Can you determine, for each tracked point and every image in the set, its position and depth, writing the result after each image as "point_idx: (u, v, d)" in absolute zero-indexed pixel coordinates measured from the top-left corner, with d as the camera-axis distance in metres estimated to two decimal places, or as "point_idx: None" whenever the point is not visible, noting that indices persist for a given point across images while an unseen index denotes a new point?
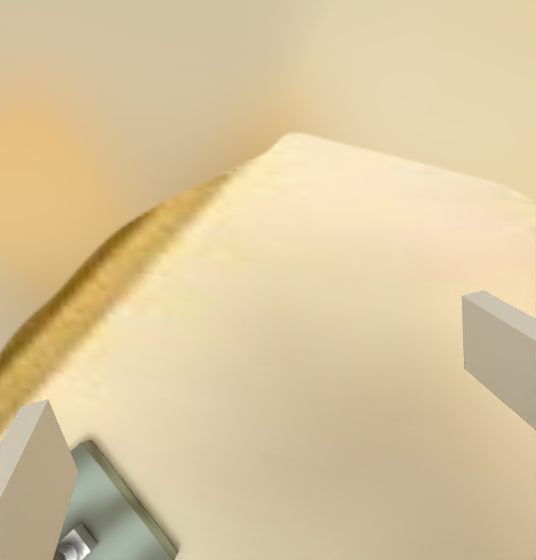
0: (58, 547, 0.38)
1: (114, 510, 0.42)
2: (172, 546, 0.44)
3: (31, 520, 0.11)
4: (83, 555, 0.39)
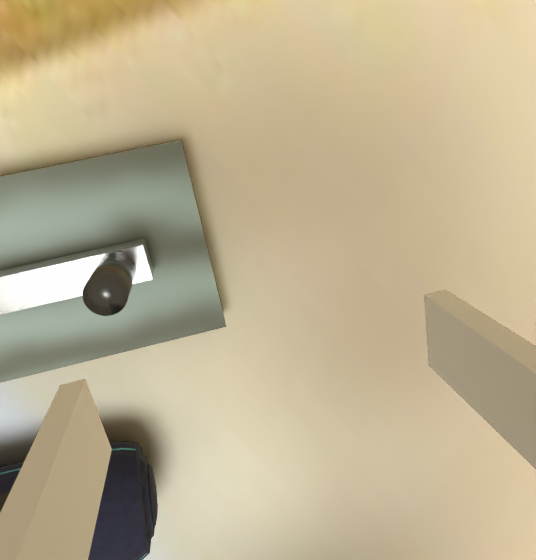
0: (124, 261, 0.28)
1: (187, 243, 0.32)
2: None
3: (77, 487, 0.11)
4: (142, 279, 0.30)
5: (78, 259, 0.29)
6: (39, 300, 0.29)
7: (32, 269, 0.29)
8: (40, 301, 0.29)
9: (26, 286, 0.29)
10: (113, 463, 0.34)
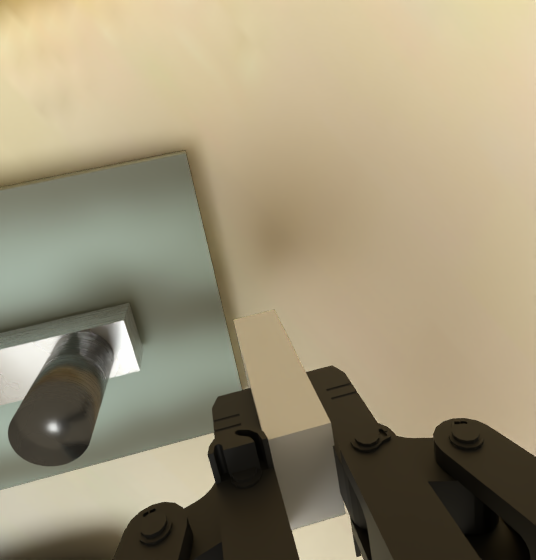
0: (91, 353, 0.17)
1: (194, 307, 0.21)
2: None
3: None
4: (124, 371, 0.19)
5: (19, 344, 0.18)
6: None
7: None
8: None
9: None
10: None
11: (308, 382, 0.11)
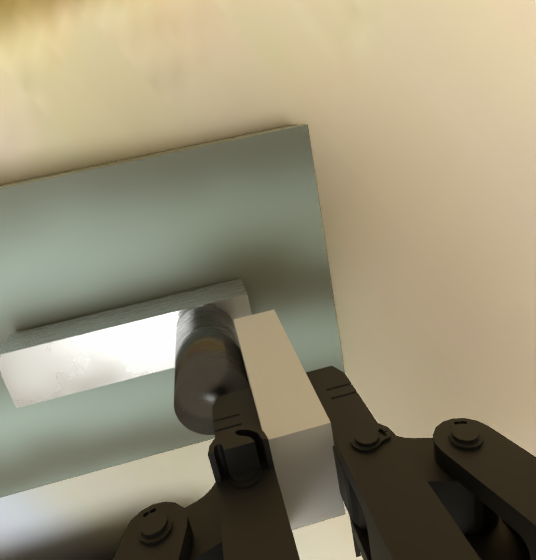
0: (225, 325, 0.17)
1: (304, 283, 0.21)
2: None
3: None
4: None
5: (145, 318, 0.18)
6: (81, 383, 0.18)
7: (71, 335, 0.18)
8: (82, 385, 0.18)
9: (61, 363, 0.18)
10: None
11: (308, 382, 0.11)
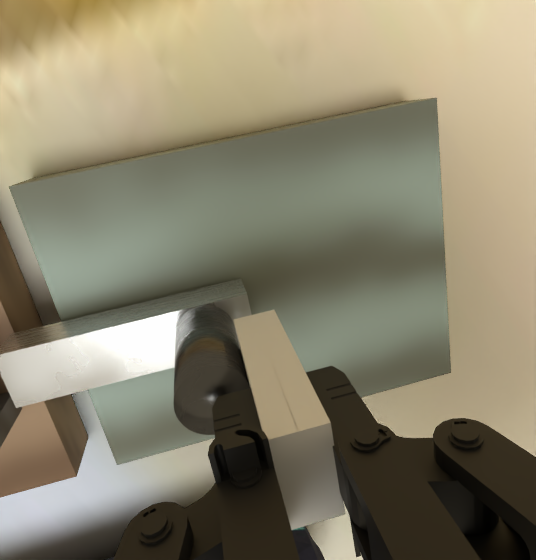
0: (225, 325, 0.17)
1: (419, 255, 0.22)
2: None
3: None
4: None
5: (144, 318, 0.18)
6: (81, 383, 0.18)
7: (70, 335, 0.18)
8: (82, 385, 0.18)
9: (61, 363, 0.18)
10: None
11: (308, 382, 0.11)
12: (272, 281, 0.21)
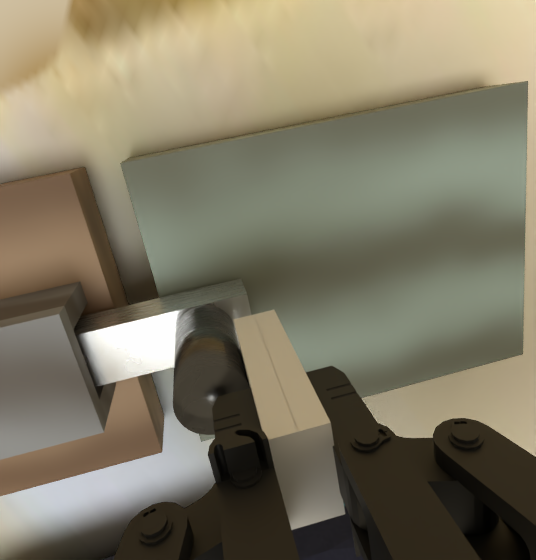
0: (225, 325, 0.17)
1: (501, 236, 0.22)
2: None
3: None
4: None
5: (144, 317, 0.18)
6: None
7: None
8: None
9: None
10: None
11: (308, 382, 0.11)
12: (360, 260, 0.21)
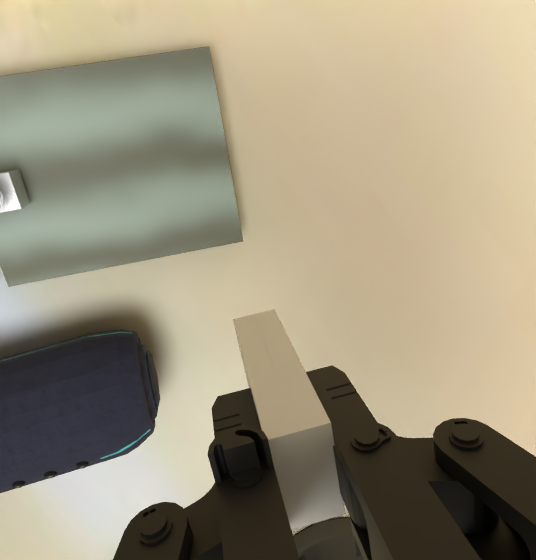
0: None
1: (209, 153, 0.33)
2: None
3: None
4: (10, 208, 0.30)
5: None
6: None
7: None
8: None
9: None
10: (109, 342, 0.34)
11: (308, 382, 0.11)
12: (107, 163, 0.32)
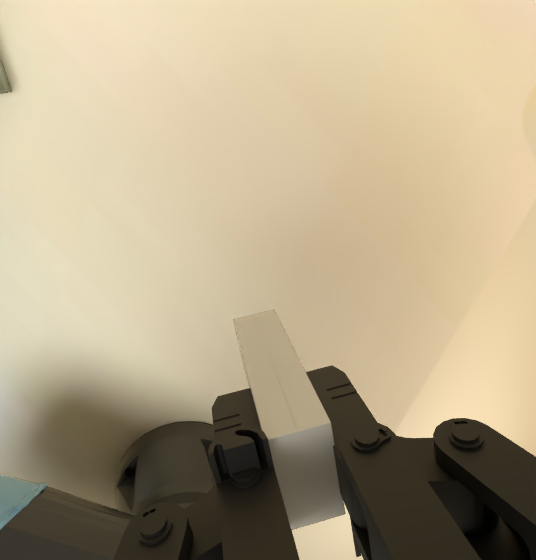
0: None
1: None
2: (6, 80, 0.37)
3: None
4: None
5: None
6: None
7: None
8: None
9: None
10: None
11: (308, 382, 0.11)
12: None
